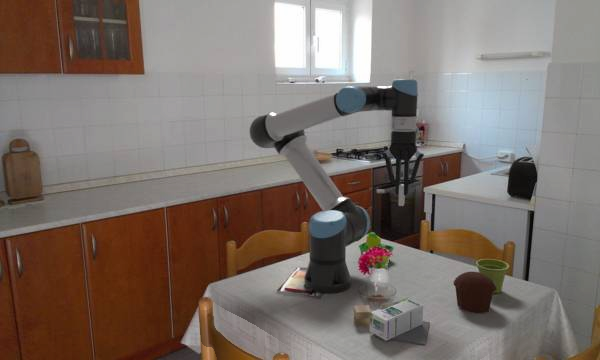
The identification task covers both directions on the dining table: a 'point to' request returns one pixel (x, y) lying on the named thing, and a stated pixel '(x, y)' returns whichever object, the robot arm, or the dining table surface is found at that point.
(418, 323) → the syrup box
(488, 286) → the muffin
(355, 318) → the oak block
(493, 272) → the plant pot
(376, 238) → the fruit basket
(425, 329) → the rubber mat
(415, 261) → the dining table surface
